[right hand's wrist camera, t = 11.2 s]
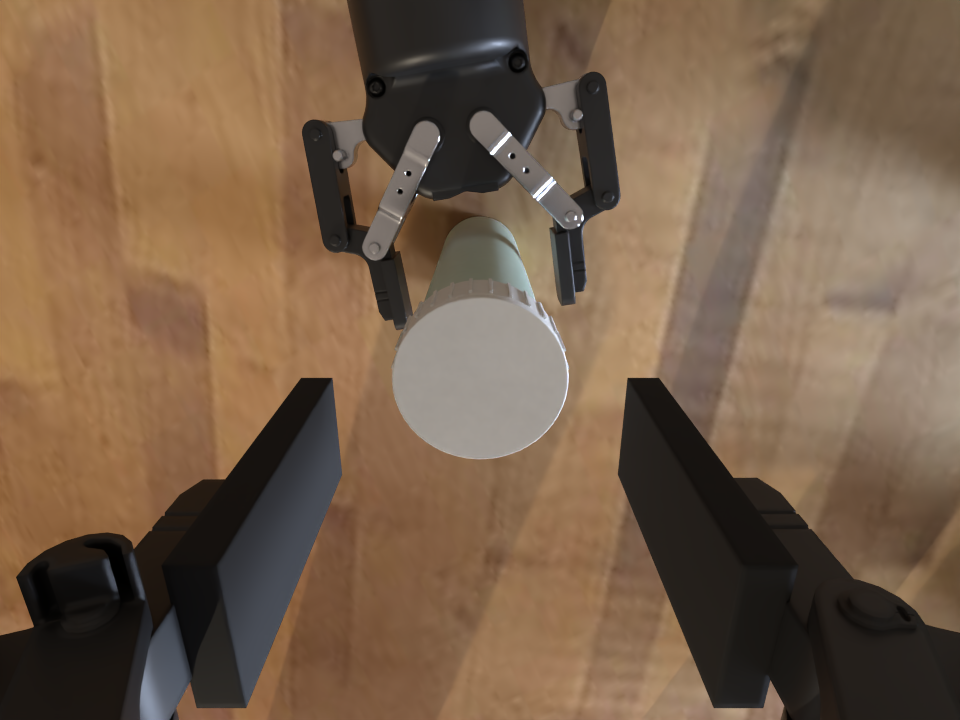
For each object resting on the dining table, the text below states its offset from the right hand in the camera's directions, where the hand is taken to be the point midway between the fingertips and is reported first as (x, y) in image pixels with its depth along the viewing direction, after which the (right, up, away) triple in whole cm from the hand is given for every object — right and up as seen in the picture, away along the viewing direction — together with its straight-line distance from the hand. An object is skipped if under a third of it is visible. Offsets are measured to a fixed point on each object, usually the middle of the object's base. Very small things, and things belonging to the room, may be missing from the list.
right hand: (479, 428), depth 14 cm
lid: (0, +1, +3) cm, 3 cm away
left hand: (0, +4, +16) cm, 16 cm away
